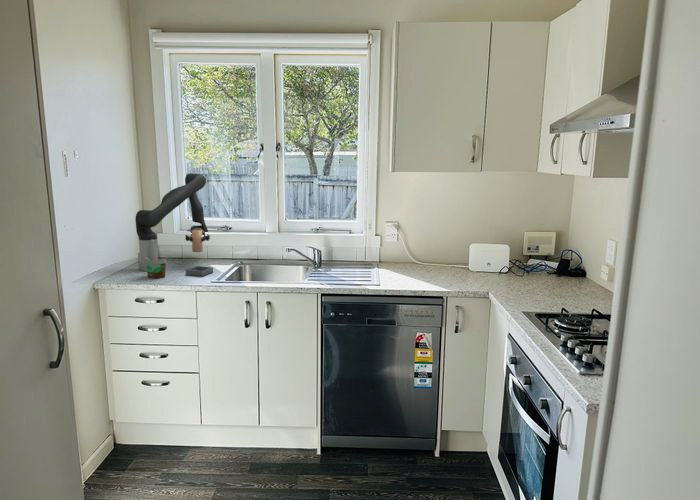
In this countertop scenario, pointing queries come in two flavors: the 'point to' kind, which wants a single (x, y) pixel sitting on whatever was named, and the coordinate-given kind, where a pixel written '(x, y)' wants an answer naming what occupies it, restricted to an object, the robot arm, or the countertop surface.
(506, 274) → the countertop surface
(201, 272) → the holder
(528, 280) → the countertop surface
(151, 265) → the food container
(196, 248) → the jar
